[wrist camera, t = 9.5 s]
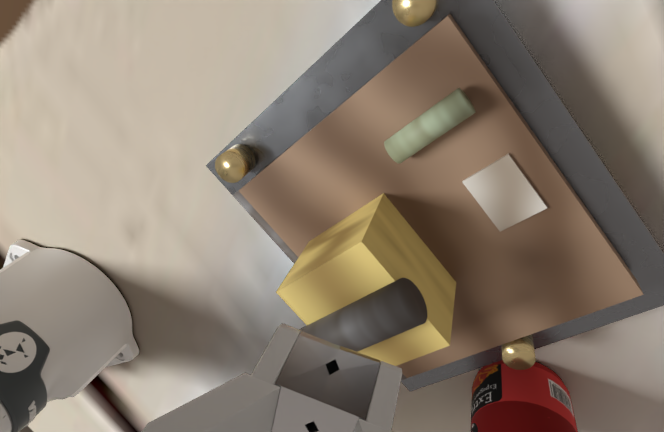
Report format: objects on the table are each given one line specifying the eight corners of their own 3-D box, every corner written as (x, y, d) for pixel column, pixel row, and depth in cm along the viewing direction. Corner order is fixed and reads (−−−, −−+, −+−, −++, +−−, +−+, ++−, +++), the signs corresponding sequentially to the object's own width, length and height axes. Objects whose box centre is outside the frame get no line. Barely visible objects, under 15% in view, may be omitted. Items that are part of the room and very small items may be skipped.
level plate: (399, 367, 37) (375, 476, 29) (239, 189, 34) (161, 258, 26) (636, 279, 28) (696, 406, 20) (449, 13, 24) (430, 36, 16)
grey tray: (414, 365, 41) (406, 410, 37) (225, 152, 36) (191, 175, 32) (674, 268, 30) (704, 316, 26) (452, -61, 25) (446, -67, 21)
